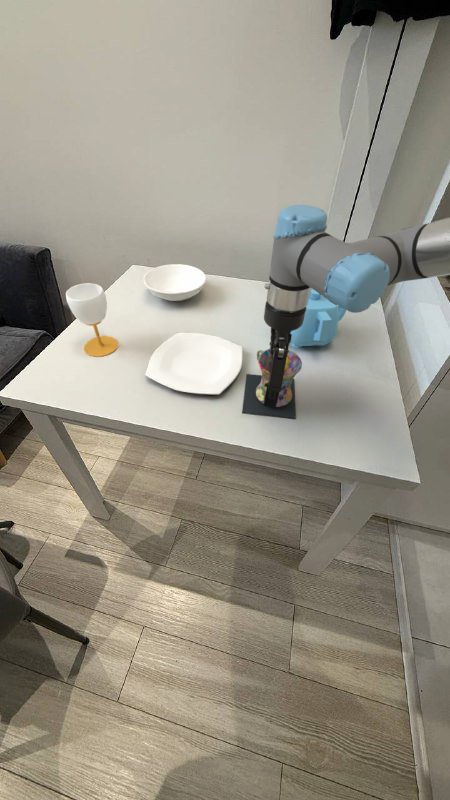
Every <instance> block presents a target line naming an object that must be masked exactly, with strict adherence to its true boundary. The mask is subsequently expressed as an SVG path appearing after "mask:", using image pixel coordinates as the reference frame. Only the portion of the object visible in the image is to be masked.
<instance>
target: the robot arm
mask: <svg viewBox="0 0 450 800" xmlns="http://www.w3.org/2000/svg"><path fill="white" fill-rule="evenodd" d="M327 224H328V214H327V213H326V212H325V211H324V209H322V208H320V207H318V206H313V205H308V204H293V205H288V206H285V207H284V208H282V209H281V210H280V212H278V217H277V221H276V224H275V230H274V235H273V236H272V237H273V242H272V253H271V260H270V269H269V277H268V283H265V284H264V286H263V287H264V289H265V290H267V293H266V301H265V304H264V305H265V306H264V313H263V320H264V323H265V324H266V325H267V326H268V327H270V341H269V349H270V354H271V355H272V360H271V367H270V375H269V382H267V383H265V385H264V387H267V388H266V394H265V400H264V406H271V407H276V404H277V400H278V395H279V392H281V390H282V388H281V387H282V381H283V375H284V370H285V364H286V359H287V355H288V353H289V350H290V349H289V346H290V344H291V343H292V342H291V337H292V334H290V333H291V331H293V330H296V329H298V328H300V327H301V326H302V324H303V321H304V317H305V313H306V306H307V305H308V301H309V297H310V293H311V289H314V290H315V291H316V292H318V293H319V294H321V295H322V296H324V297H325V298H326V299H328V300H329V301H330V302H331V303H333V304H334V305H337V306H340V307H342V308H344V309H346V312H350V313H355V314H358V313H362V312H364V311H366V310H368V309H369V308H370V307H371V306H372V305H374V304H375V303H377V301H378V300H379V299H380V298H381V297H382V295H383V294H384V293H385V291H386V289H387V287H389V286H391V285H394V284H398V283H403V282H407V281H408V282H409V281H416V280H417V281H418V280H423V279H430V278H436V277H444V276H445V277H446V276H450V216H449V217H445V218H442V219H438V220H434V221H431V222H428V223H423V224H419V225H416V226H410V227H406V228H403V229H400V230H397V231H392V232H389V233H386V234H382V235H377V236H374V237H369V238H365V239H361V240H357V241H354V242H347V241H343V240H342V239H339V238H337V237H334V236H333V235H331V234H329V233H328V232H326V231H327V228H328V225H327ZM273 348H275V349H274V350H273Z"/></svg>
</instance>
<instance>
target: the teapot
mask: <svg viewBox="0 0 450 800" xmlns="http://www.w3.org/2000/svg"><path fill="white" fill-rule="evenodd" d="M346 312H347V310H346V309H344V308H342V307H340V306H338V305H334V304H333V303H331V302H330V301H329V300H328V299H326V298H325V297H324V296H322V295H321V294H319V293H318V292H316V291H315V290H314V289H311V293H310V297H309V301H308V305H307V306H306V313H305V317H304V321H303V324H302V326H301V327H300V328H298V329H296V330H293V331H291V333H290V334H292V337H291V342H290V343H291V346H292V347H293V348H296V349H300V348H302V347H311V346H312V347H313V346H319V347H325V346H326V345H328V344H330V343H331V342H332V341H333V340H334V339H335V338H336V336H337V333H338V328H339V321H341V320H342V319H343V318H344V317H345V314H346Z"/></svg>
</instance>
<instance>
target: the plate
mask: <svg viewBox="0 0 450 800" xmlns="http://www.w3.org/2000/svg"><path fill="white" fill-rule="evenodd" d="M243 352H244V351H243V346H241V345H239V344H236V343H234V342H232V341H230V340H228V339H225V338H222V337H219V336H216V335H212V334H207V333H198V332H176V333H175V334H173V335H172V336H170V337H169V338H168V339H166V340H165V341H163V342H162V343H161V344H160V345H159V346H157V348H156V349H155V350H154V351H153V352H152V354H151V356H150V358H149V361H148V364H147V368H146V372H145V376H146V377H147V378H149V379H150V380H152V381H154V382H156V383H158V384H159V385H162V386H164V387H166V388H169V389H171V390H174V391H177V392H181V393H188V394H195V395H196V394H197V395H211V396H212V395H213V396H214V395H215V396H216V395H221V394H222V393H223V392H224V391H225V390H226V389H227V388H228V387H229V386H230V385H231V384H232V383H233V382H234V380H235V379H236V378H237V377H238V376H239V373H240V372H241V369H242V366H243V359H244V355H243Z"/></svg>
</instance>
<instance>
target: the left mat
mask: <svg viewBox="0 0 450 800" xmlns="http://www.w3.org/2000/svg"><path fill="white" fill-rule="evenodd" d="M261 379H262V374H253V373H246V376H245V383H244V391H243V392H244V393H243V401H242V410H241V413H242V414H244V415H245V414H246V415H253V416H254V415H255V416H264V417H271V418H272V417H273V418H280V419H290V420H291V419H292V420H296V419H297V412H296V411H297V408H296V384H295V383H296V381H295V378H293V380H292V383H291V391H292V399H291V401H290V402H289V403H288V404H286V405H284V406H281V407H271V406H264V404H263V403H262V402H261V401H260V400H259V399H258V398H257V396H256V388H257V387H258V385H259V384H260V383H261Z"/></svg>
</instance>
